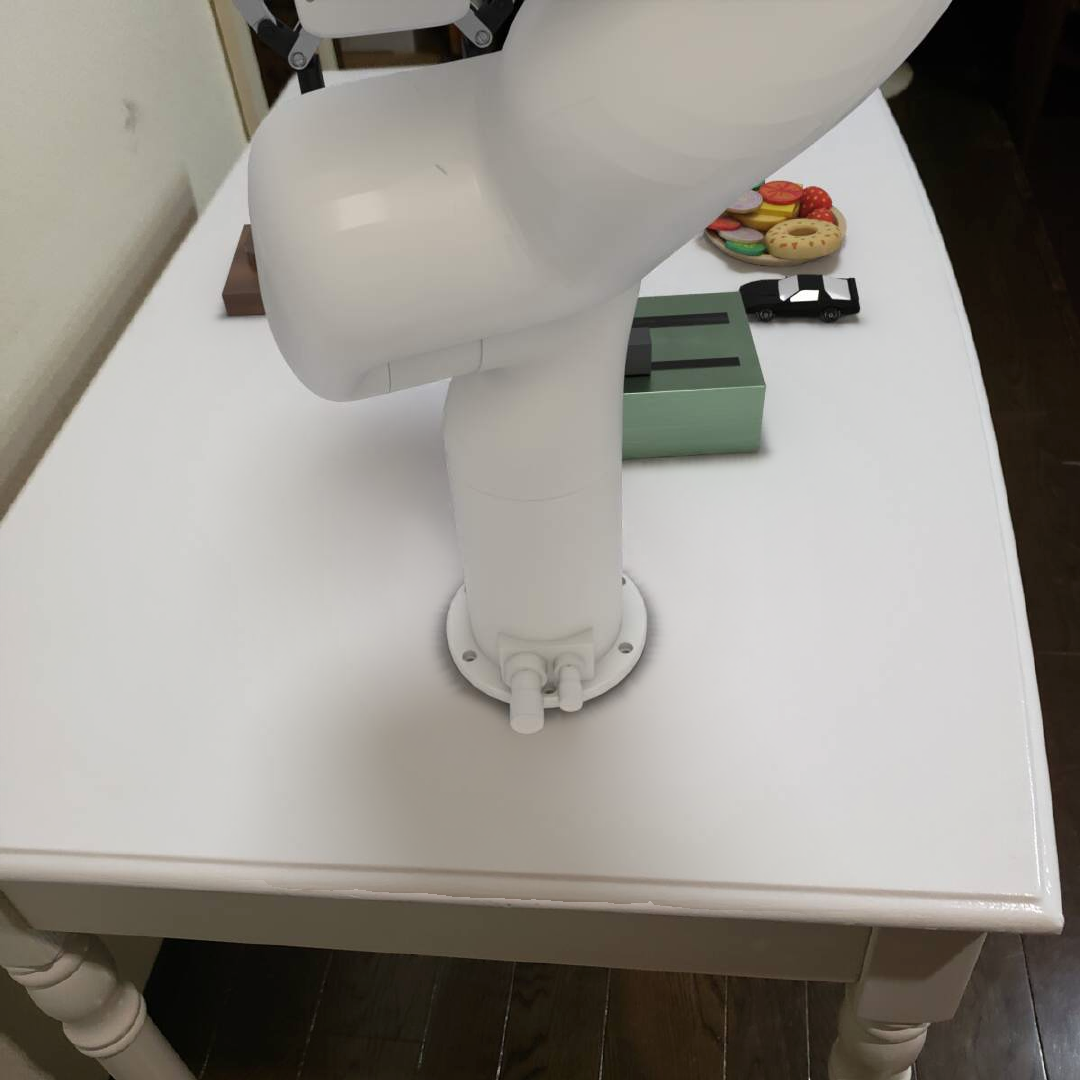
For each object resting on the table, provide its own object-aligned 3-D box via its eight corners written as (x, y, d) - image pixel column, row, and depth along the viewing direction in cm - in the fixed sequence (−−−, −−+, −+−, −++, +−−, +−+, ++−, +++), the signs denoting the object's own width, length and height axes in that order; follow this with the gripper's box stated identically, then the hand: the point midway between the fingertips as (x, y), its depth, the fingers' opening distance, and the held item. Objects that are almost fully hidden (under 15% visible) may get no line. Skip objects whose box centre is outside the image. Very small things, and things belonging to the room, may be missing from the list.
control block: (340, 309, 98) (332, 269, 95) (227, 316, 98) (216, 276, 95) (353, 238, 106) (346, 200, 104) (249, 245, 107) (239, 206, 104)
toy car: (736, 322, 93) (738, 294, 92) (734, 295, 96) (736, 268, 94) (858, 323, 92) (863, 295, 91) (852, 296, 95) (857, 268, 93)
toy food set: (832, 284, 97) (837, 250, 94) (683, 264, 100) (684, 232, 98) (853, 208, 105) (858, 176, 103) (715, 193, 109) (717, 161, 107)
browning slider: (651, 373, 79) (651, 343, 77) (617, 375, 79) (617, 345, 77) (648, 357, 80) (649, 326, 79) (615, 359, 80) (615, 328, 79)
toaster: (758, 451, 82) (766, 385, 77) (594, 460, 82) (593, 395, 78) (734, 355, 90) (740, 290, 86) (586, 363, 90) (584, 299, 86)
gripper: (184, -170, 56) (263, 157, 68) (525, -205, 57) (543, 122, 69) (194, -200, 61) (265, 107, 73) (505, -232, 63) (525, 75, 74)
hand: (400, 114), depth 71 cm, fingers open, 9 cm apart
